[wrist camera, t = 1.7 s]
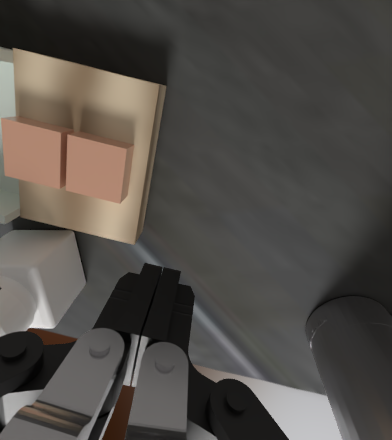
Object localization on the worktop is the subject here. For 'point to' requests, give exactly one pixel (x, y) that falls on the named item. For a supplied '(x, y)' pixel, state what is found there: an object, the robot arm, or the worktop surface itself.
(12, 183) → the box
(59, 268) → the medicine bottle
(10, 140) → the tile
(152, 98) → the wooden slab
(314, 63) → the worktop surface
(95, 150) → the tile
